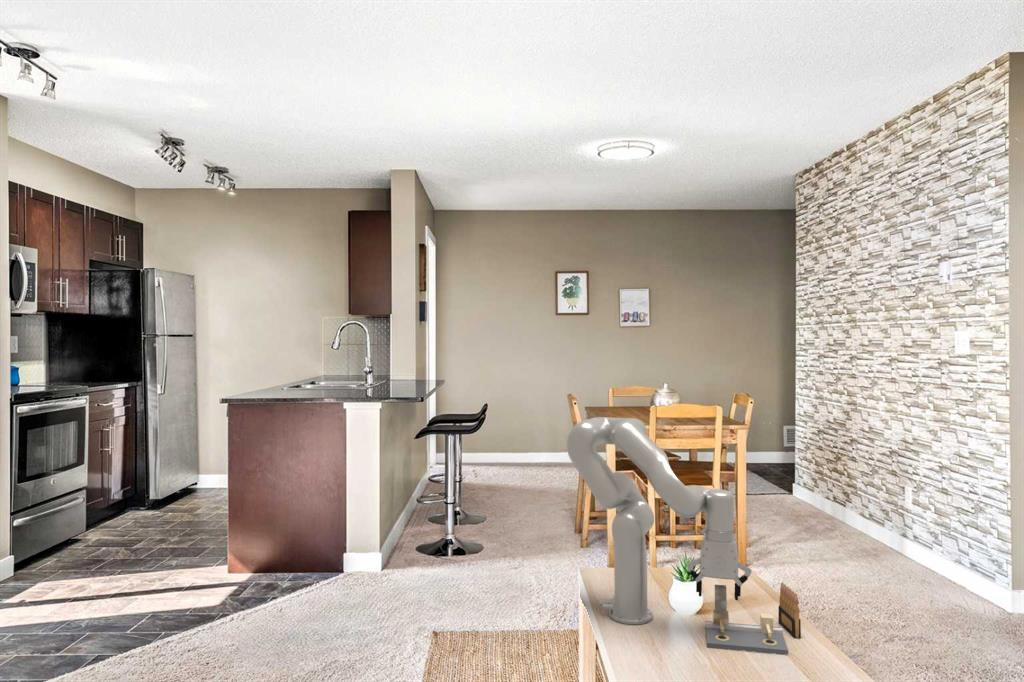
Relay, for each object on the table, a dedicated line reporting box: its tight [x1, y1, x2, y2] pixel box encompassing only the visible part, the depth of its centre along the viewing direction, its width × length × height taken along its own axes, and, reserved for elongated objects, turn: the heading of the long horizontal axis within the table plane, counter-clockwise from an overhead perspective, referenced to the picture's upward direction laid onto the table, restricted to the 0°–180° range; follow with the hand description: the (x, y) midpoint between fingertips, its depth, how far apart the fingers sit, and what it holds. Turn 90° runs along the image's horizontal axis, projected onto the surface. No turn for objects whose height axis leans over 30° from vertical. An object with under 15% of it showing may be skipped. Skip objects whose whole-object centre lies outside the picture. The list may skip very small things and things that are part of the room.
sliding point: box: [712, 584, 730, 636], centre depth 188 cm, size 4×9×10 cm, turn 166°
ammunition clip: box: [777, 581, 802, 639], centre depth 192 cm, size 11×2×12 cm, turn 1°
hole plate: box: [705, 612, 789, 655], centre depth 186 cm, size 20×15×6 cm
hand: (718, 596), depth 191 cm, fingers open, 9 cm apart
